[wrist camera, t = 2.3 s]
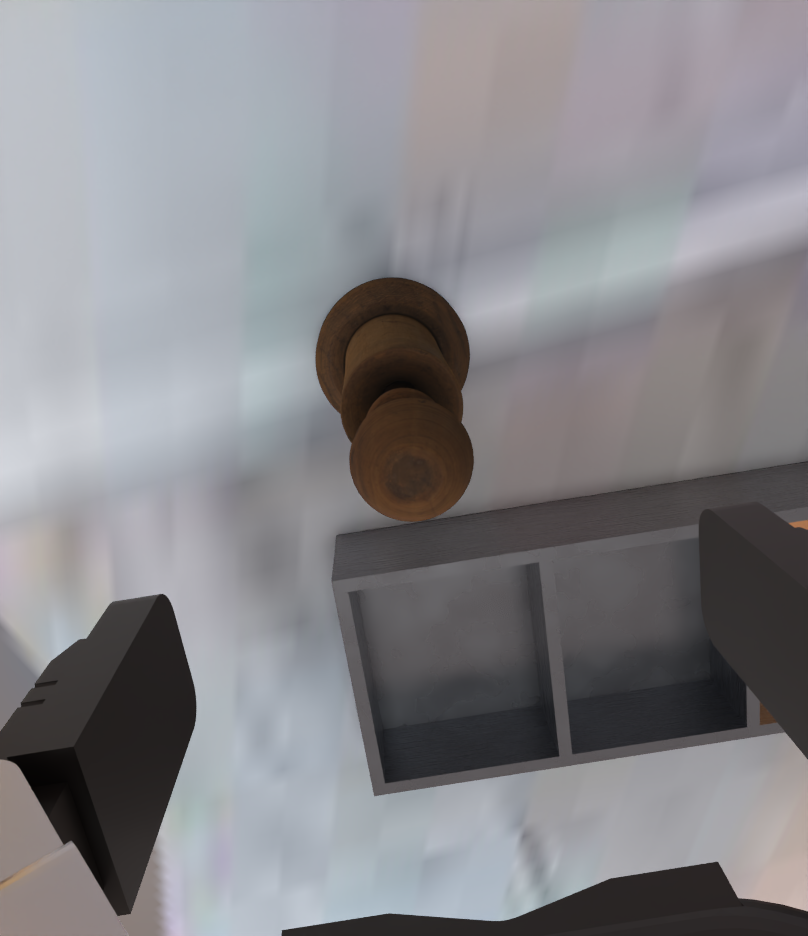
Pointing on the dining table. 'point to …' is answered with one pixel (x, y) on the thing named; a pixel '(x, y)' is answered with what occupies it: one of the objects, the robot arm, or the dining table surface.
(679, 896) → the robot arm
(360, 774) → the dining table surface
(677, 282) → the dining table surface
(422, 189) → the dining table surface
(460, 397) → the brown turned rounded post
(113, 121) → the dining table surface
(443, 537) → the rack
